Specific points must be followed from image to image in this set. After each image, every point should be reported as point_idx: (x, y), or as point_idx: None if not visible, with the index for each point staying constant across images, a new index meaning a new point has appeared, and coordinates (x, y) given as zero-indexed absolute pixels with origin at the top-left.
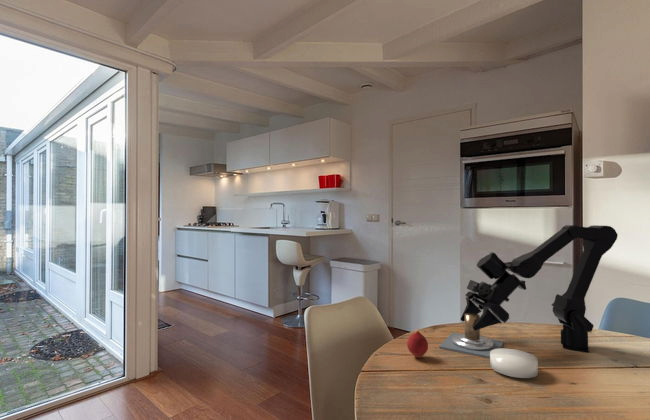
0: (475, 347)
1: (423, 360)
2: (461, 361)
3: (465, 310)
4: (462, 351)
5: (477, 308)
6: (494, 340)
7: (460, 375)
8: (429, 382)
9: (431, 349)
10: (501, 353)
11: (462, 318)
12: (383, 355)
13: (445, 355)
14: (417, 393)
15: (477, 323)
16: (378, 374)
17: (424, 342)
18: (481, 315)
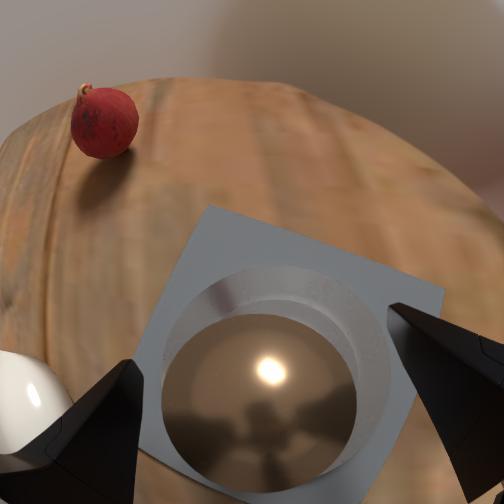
0: (162, 367)
1: (105, 166)
2: (87, 279)
3: (462, 345)
4: (160, 302)
5: (486, 480)
6: (349, 495)
7: (25, 258)
8: (21, 192)
9: (194, 181)
10: (13, 398)
11: (396, 319)
12: (148, 88)
13: (135, 229)
14: (7, 179)
15: (88, 391)
16: (68, 112)
17: (72, 133)
18: (57, 447)
